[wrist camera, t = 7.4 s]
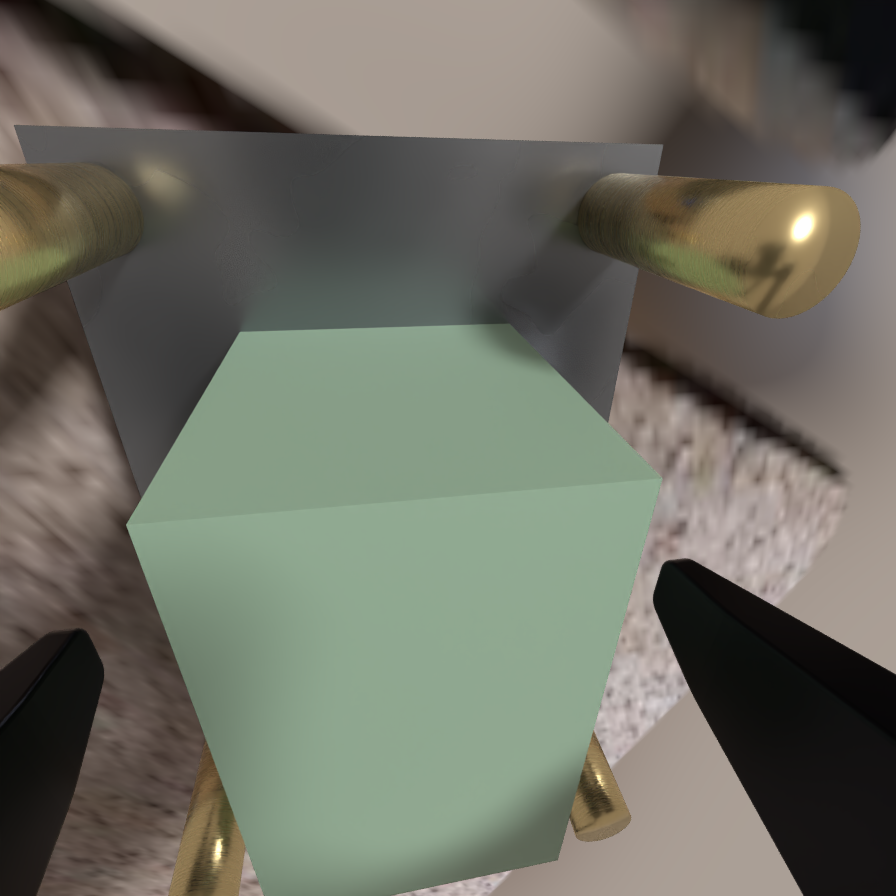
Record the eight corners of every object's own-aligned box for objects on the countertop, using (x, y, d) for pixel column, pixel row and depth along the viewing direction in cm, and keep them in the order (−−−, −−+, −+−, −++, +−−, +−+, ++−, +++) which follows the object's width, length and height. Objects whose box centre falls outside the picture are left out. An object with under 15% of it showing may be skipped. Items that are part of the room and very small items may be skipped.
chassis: (543, 645, 15) (623, 843, 11) (229, 688, 14) (176, 937, 9) (626, 146, 9) (907, 136, 4) (59, 129, 7) (-358, 90, 3)
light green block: (485, 622, 13) (558, 860, 8) (298, 646, 12) (273, 920, 8) (509, 323, 9) (662, 477, 5) (239, 332, 8) (126, 524, 4)
